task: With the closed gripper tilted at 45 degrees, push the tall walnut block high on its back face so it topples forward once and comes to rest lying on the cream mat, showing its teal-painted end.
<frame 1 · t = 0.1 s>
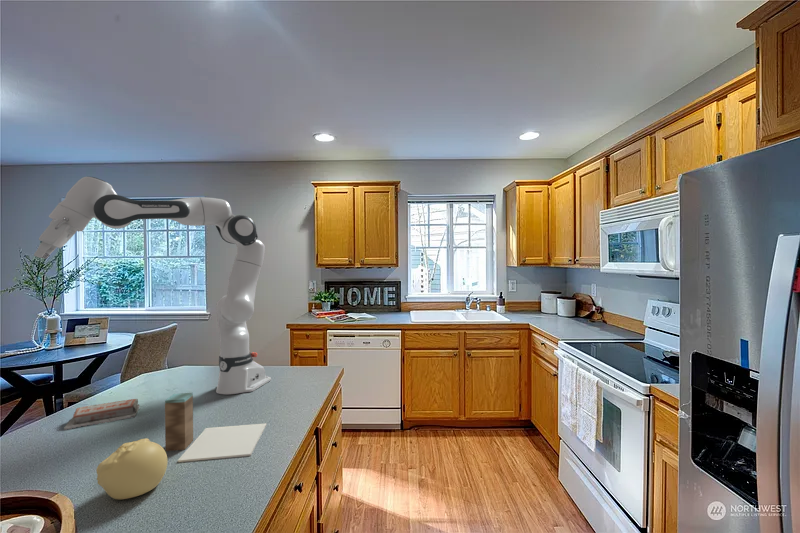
hand: (39, 257, 106), 54 cm above the kitchen island, tool tilted 30°, fingers open, 8 cm apart
packaged product: (104, 419, 116), on the kitchen island
cream mat: (226, 441, 99), on the kitchen island
walnut block: (179, 445, 97), on the kitchen island
sculpture: (135, 490, 78), on the kitchen island
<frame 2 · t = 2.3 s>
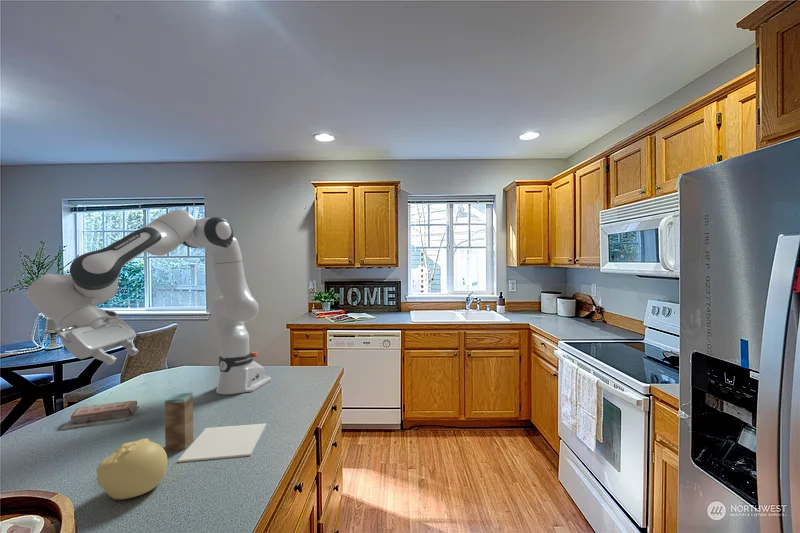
hand: (125, 358, 95), 26 cm above the kitchen island, tool tilted 45°, fingers open, 8 cm apart
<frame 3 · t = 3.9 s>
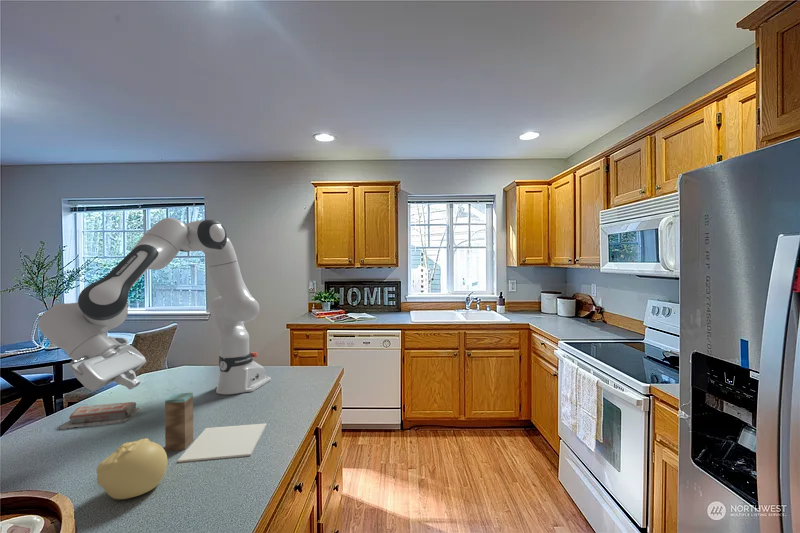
hand: (136, 386, 95), 18 cm above the kitchen island, tool tilted 45°, fingers closed
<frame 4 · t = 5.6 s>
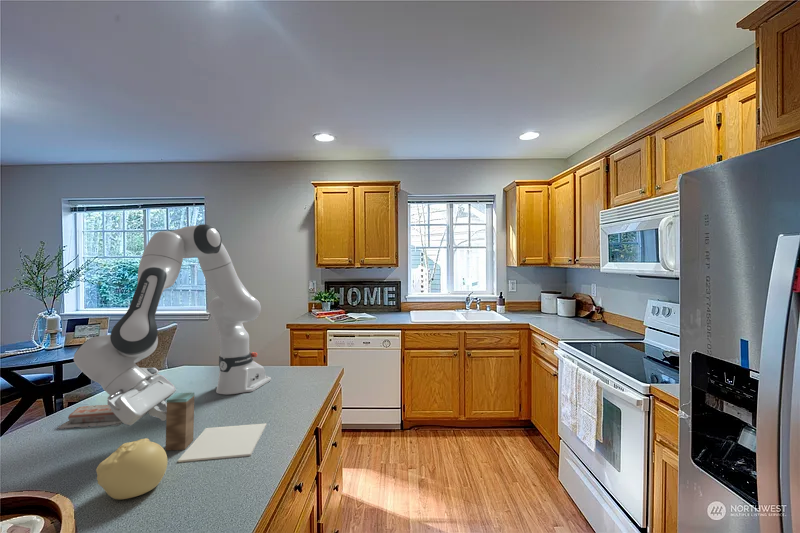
hand: (168, 417, 97), 8 cm above the kitchen island, tool tilted 45°, fingers closed, pressing on walnut block
walnut block: (179, 445, 97), on the kitchen island, touching gripper
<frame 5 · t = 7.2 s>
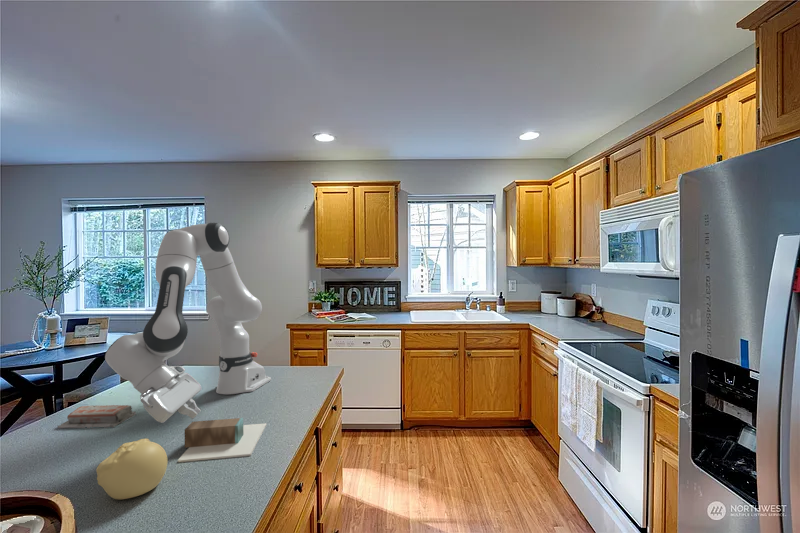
hand: (197, 414, 98), 8 cm above the kitchen island, tool tilted 45°, fingers closed
walnut block: (188, 434, 97), point 3 cm above the kitchen island, tilted 90°, touching cream mat
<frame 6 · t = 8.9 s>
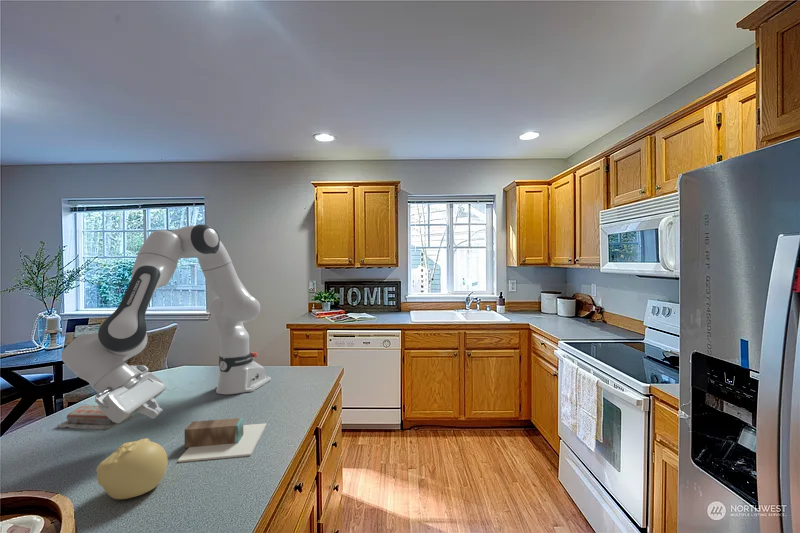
hand: (158, 414, 96), 9 cm above the kitchen island, tool tilted 45°, fingers closed
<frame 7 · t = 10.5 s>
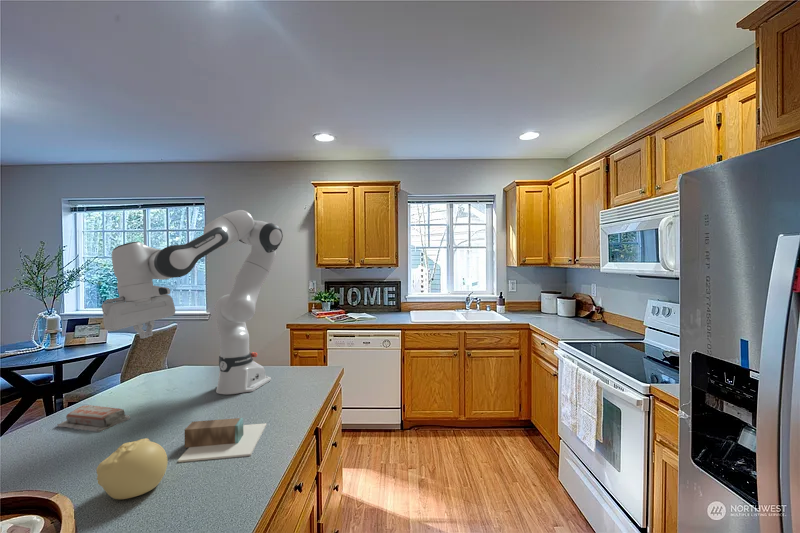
hand: (146, 337, 107), 29 cm above the kitchen island, tool pointing down, fingers closed
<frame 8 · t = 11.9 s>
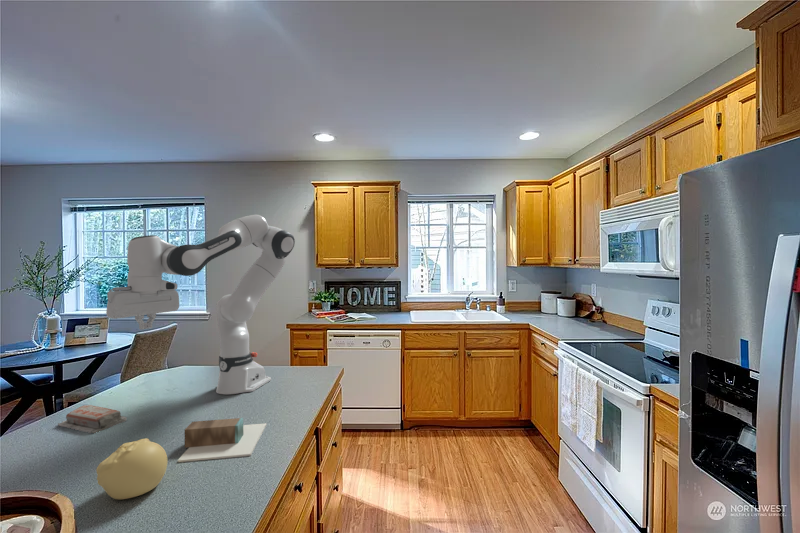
hand: (145, 328, 110), 31 cm above the kitchen island, tool pointing down, fingers closed
at the end: walnut block tilted 90°; walnut block touching cream mat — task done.
